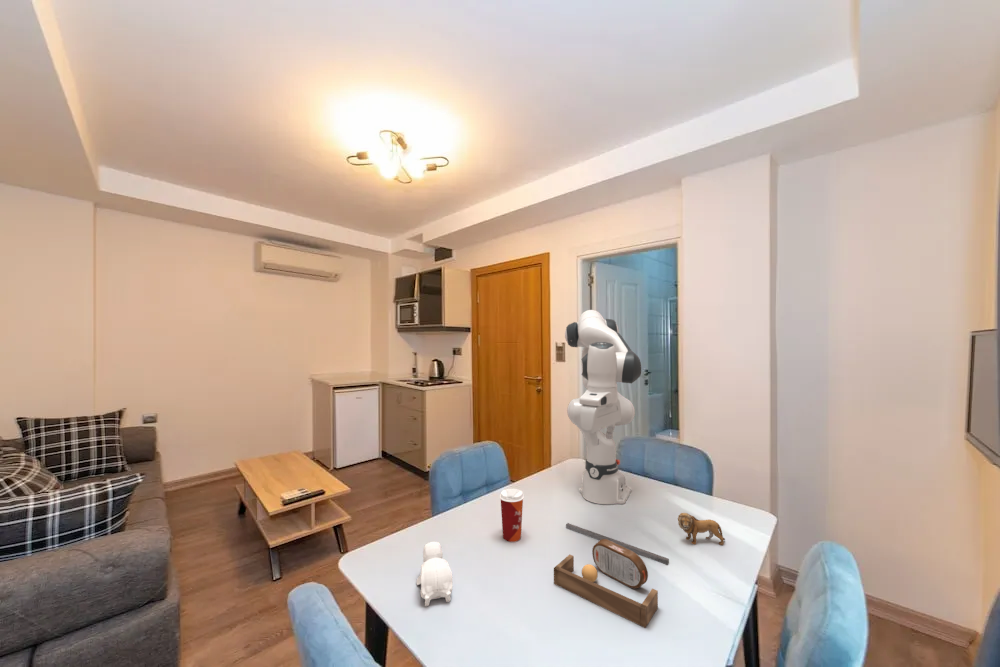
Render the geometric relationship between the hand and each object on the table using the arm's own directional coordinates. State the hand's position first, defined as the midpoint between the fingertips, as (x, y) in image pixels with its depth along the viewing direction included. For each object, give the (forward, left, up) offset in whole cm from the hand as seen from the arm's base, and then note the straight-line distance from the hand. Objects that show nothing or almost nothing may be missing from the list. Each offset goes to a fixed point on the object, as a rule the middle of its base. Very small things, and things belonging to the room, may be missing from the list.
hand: (602, 441), depth 116 cm
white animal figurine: (+45, -24, -32) cm, 60 cm away
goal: (+21, +10, -31) cm, 39 cm away
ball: (+18, +5, -29) cm, 35 cm away
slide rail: (-3, +2, -31) cm, 31 cm away
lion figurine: (-21, +22, -31) cm, 44 cm away
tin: (+12, +10, -31) cm, 35 cm away
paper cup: (+14, -24, -31) cm, 42 cm away
